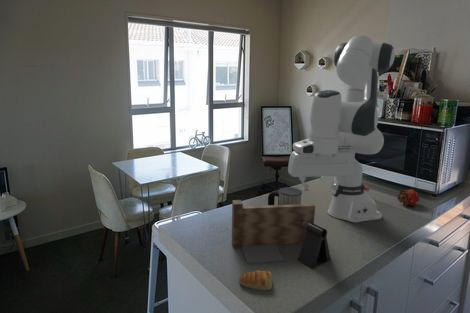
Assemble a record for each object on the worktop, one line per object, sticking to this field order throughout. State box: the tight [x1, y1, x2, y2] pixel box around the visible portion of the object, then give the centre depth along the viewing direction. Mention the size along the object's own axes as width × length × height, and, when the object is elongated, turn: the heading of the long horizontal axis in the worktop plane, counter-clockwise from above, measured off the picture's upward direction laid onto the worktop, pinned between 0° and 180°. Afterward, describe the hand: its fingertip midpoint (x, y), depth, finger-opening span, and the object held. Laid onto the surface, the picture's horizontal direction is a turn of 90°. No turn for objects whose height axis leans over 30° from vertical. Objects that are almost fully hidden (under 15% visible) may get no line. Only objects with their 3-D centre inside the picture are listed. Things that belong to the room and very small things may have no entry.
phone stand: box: [297, 223, 332, 269], centre depth 109 cm, size 9×6×12 cm, turn 124°
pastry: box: [238, 269, 273, 291], centre depth 97 cm, size 9×7×4 cm
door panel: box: [231, 199, 316, 249], centre depth 119 cm, size 29×5×16 cm, turn 99°
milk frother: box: [267, 186, 303, 205], centre depth 132 cm, size 14×16×15 cm
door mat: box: [241, 244, 285, 264], centre depth 114 cm, size 12×11×1 cm
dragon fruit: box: [397, 188, 420, 207], centre depth 161 cm, size 8×8×12 cm
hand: (319, 189), depth 105 cm, fingers open, 8 cm apart
